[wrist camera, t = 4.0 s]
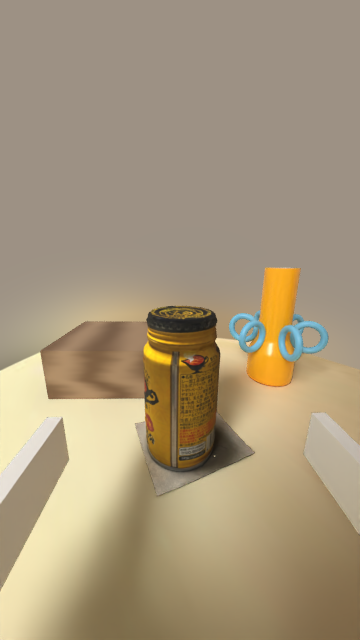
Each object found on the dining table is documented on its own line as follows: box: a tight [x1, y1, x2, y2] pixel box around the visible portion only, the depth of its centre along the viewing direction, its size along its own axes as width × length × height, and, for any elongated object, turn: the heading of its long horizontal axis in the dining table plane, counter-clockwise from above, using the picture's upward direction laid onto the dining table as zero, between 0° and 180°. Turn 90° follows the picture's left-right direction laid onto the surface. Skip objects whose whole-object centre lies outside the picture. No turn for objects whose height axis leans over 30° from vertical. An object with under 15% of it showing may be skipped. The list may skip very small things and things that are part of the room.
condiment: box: [135, 306, 254, 496], centre depth 18 cm, size 7×8×12 cm
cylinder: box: [229, 268, 328, 386], centre depth 28 cm, size 12×10×15 cm
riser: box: [40, 322, 149, 399], centre depth 30 cm, size 12×12×6 cm
